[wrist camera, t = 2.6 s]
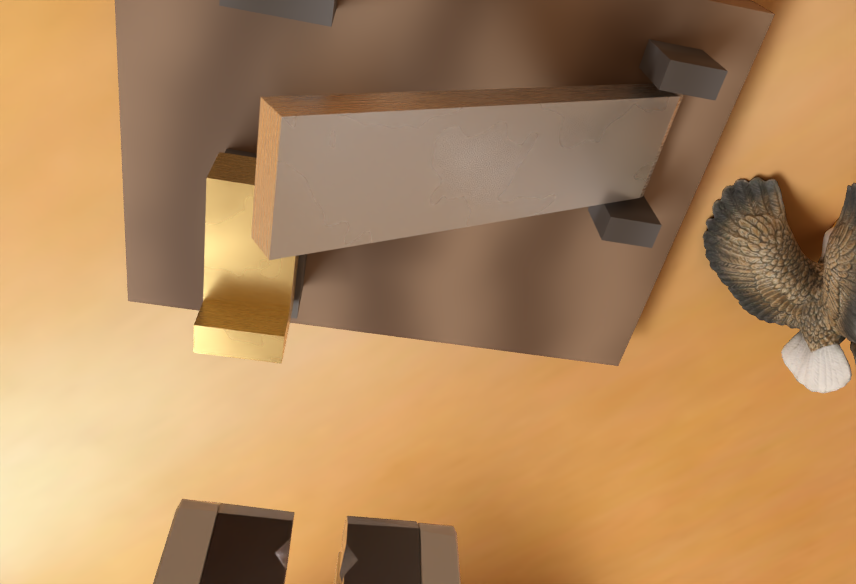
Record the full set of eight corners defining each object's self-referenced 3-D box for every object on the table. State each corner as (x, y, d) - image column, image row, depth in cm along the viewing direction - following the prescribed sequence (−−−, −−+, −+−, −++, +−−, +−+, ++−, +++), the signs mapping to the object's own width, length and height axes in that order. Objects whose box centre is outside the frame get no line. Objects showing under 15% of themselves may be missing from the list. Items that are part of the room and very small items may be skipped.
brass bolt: (308, 166, 25) (297, 213, 22) (293, 306, 28) (281, 363, 25) (219, 152, 24) (196, 198, 22) (213, 296, 28) (193, 352, 25)
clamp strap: (664, 83, 26) (690, 95, 25) (626, 181, 28) (649, 196, 28) (260, 97, 18) (281, 116, 17) (251, 236, 20) (269, 260, 19)
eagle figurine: (957, 239, 31) (877, 127, 27) (970, 394, 29) (883, 302, 24) (780, 272, 37) (686, 185, 32) (776, 404, 34) (673, 331, 29)
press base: (751, 0, 27) (807, 33, 23) (607, 339, 35) (632, 401, 32) (129, -132, 23) (80, -118, 20) (141, 275, 32) (109, 335, 29)
